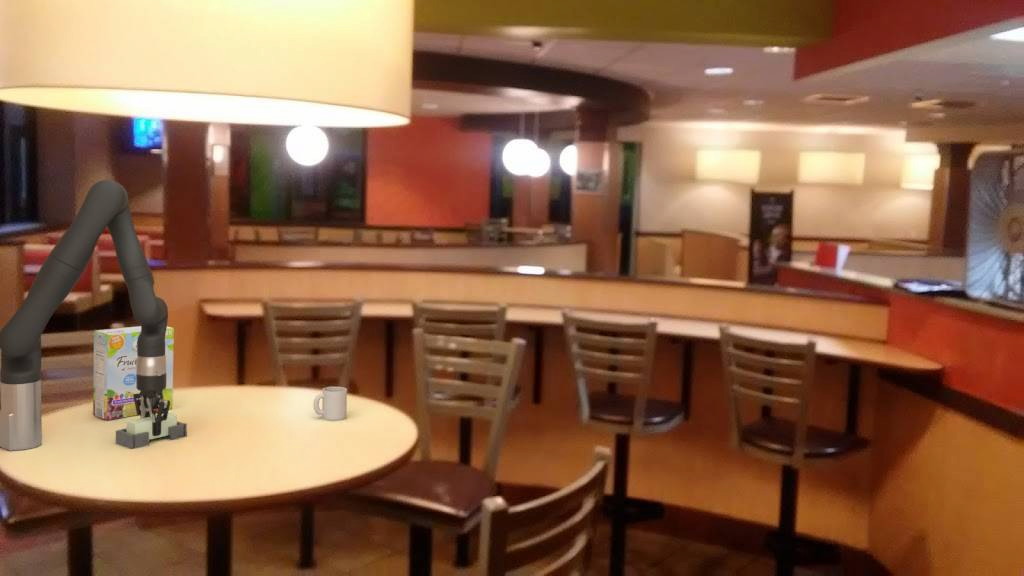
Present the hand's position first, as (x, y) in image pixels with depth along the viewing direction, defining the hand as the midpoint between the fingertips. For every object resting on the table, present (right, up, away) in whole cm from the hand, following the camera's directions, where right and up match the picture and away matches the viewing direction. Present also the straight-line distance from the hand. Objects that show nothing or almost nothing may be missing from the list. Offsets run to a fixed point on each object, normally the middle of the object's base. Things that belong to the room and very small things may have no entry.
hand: (151, 433), depth 247 cm
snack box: (-16, +2, +27) cm, 32 cm away
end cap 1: (-3, -2, -4) cm, 6 cm away
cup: (+42, 0, +30) cm, 52 cm away
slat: (0, -1, 0) cm, 1 cm away
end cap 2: (+3, -1, +5) cm, 6 cm away
